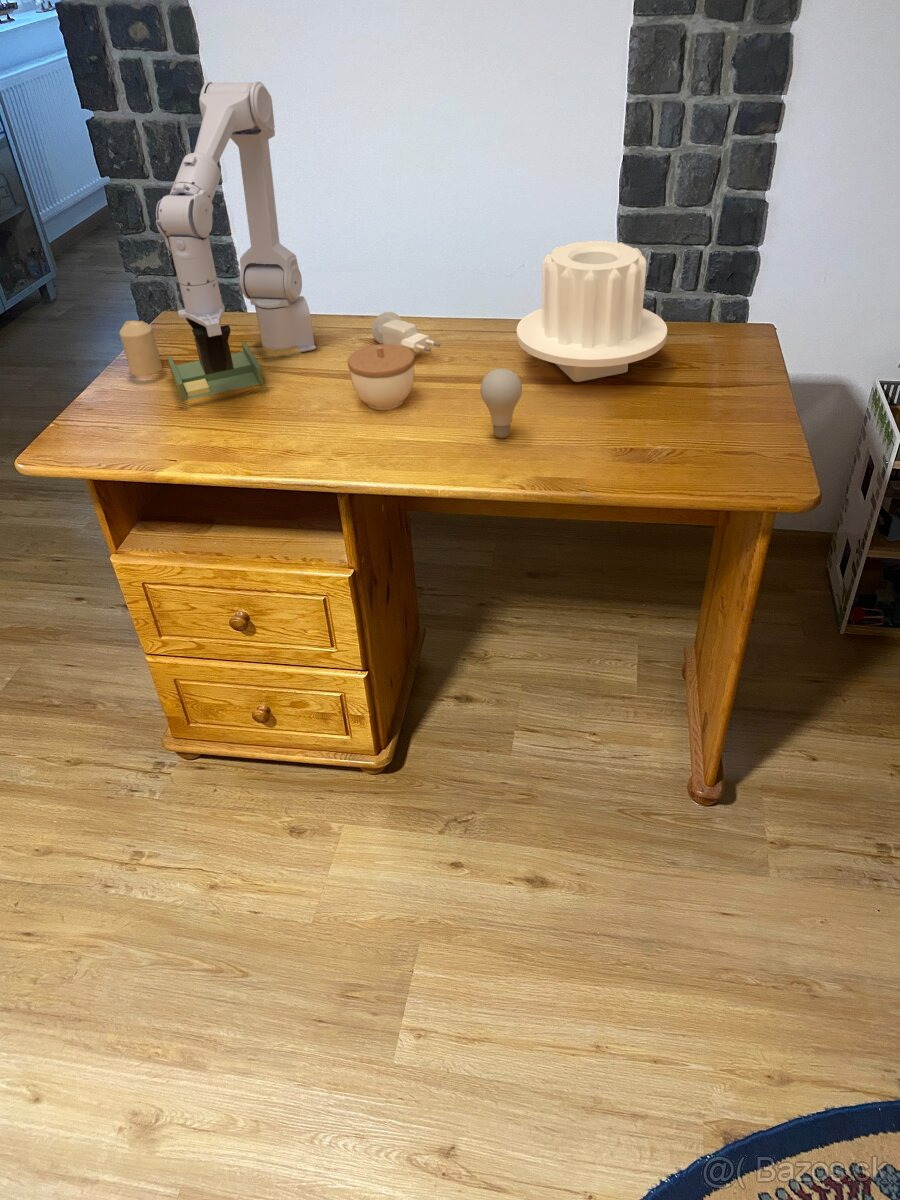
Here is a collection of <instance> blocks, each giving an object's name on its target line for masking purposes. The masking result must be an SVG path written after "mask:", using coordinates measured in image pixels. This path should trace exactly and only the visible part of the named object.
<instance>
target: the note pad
mask: <svg viewBox="0 0 900 1200" xmlns="http://www.w3.org/2000/svg"><path fill="white" fill-rule="evenodd" d="M183 385H184V389H185V391H186V394H187V396H188V397H191V396H195V395H200V394H205V393H210V389H209V386H208V384H207V382H206V379H200V380H196V381H191V382H186V383H183Z"/></svg>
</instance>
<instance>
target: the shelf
mask: <svg viewBox="0 0 900 1200" xmlns="http://www.w3.org/2000/svg"><path fill="white" fill-rule="evenodd" d="M241 345H242V351H239V352H233V353H231V357H232V362H233V367H234V369H232V370H227V371H222V372H217V373H212V374H208V375H205V373H204V371H203V369H202V366H201V364H200V360H199V359H198V360H195V361H189V362H185V363H180V364H175V362H174V359H173V357H172V356H170V357H167V363H168V366H169V370H170V374H171V377H172V379H173V381H174V384H175V386H176V389H177V392H178V394H179V396H180V399H181V401H182V402H184V401H189V400H193V399H198V398H202V397H208V396H211V395H215V394H220V393H226V392H230V391H235V390H240V389H244V388H249V387H253V386H259V385H264V384H265V380H264V375H263V369H262V366H261V365H260V363H259V361H258V360H257V358H256V355H254V353H253V351H252V350H251V348H250V346H249V344H248V343H247V341H244V342H241ZM200 379H206V382H207V384H208V386H209V389H210V393H205V394H200V395H195V396H191V397H188V396H187V394H186V391H185V389H184V385H183V383H186V382H191V381H196V380H200Z"/></svg>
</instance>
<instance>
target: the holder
mask: <svg viewBox="0 0 900 1200" xmlns="http://www.w3.org/2000/svg"><path fill="white" fill-rule="evenodd" d="M193 340H194V342H195V343H194V344H195V347H196V351H197V355H198V356H197V357H198V361H199V360H200V364H201V366H202V369H203V371H204V373H205V375H208V374H212V373H217V372H222V371H227V370H232V369H234V367H233V362H232V357H231V354H232V353H231V348H230V343H229V341H228V342H227V367H226V369H225V370H221V371H216V372H214V371H213V370H212V368H211V366H210V363H209V361H208V358H207V356H206V353H205V351H204V349H203V347H202V345H201V344H200V343H199V341H198V340H197V339H196V338H195V337H194V338H193Z"/></svg>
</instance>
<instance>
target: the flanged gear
mask: <svg viewBox="0 0 900 1200" xmlns="http://www.w3.org/2000/svg"><path fill="white" fill-rule="evenodd" d="M647 264H648V263H647V258H646V256H644V255H643V253H642V252H641V250H640V249H639V248H638V247H632V246H630V245H627V244H624V243H623V242H621V241H620V242H614V241H606V240H605V241H603V240H600V239H597V240H589V241H588V240H587V241H578V242H577V241H573V242H572V243H568V244H565V245H562V246H556V247H554V248H553V249H552V251H551V253H548V254H546V255H545V257H544V259H543V262H542V286H541V287H542V288H541V289H542V290H541V291H542V293H541V296H542V297H541V307H540V308H538V309H536V310H533V311H531V312H530V313H528V314H526V315H525V316H524V317H523V318H521V319H520V321H519V322H518V324H517V326H516V342H517V344H518V345H519V346H520V348H521V349H522V350H523V351H525V352H526V353H528V354H529V355H531V356H532V357H535V358H536V359H539V360H542V361H546V362H549V363H552V364H555V365H556V366H557V367H558V368H559V369H560V370H561V371H562V372H563V373H564V374H566V376H568V378H570V379H571V380H572V381H573V382H574V383H580V382H587V381H591V380H595V379H600V378H606V377H611V376H616V375H621V374H625V373H627V372H628V371H629V364H631V363H634V362H638V361H641V360H644V359H647V358H649V357H651V356H653V355H655V354H656V353H658V352H659V351H660V350H661V349H662V348H663V347H664V345H665V344H666V342H667V336H668V326H667V324H666V322H665V321H664V319H663V318H661V316H659V315H657V314H656V313H654V312H652V311H651V310H649V309H646V308H644V300H645V299H644V297H645V288H646V275H647Z"/></svg>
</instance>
